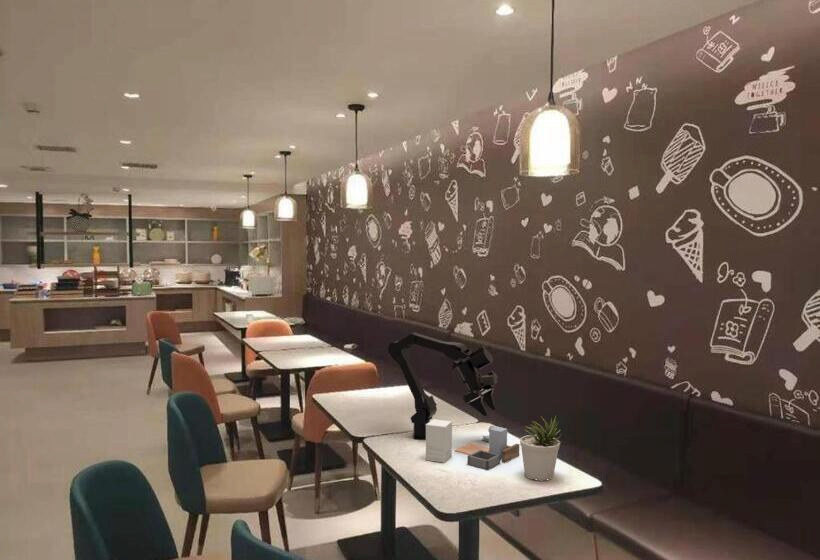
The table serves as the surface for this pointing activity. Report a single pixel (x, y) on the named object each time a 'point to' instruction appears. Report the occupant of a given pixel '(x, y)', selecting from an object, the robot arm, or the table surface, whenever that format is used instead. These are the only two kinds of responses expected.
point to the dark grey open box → (483, 459)
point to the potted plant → (540, 451)
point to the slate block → (497, 440)
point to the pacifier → (486, 438)
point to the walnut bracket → (510, 452)
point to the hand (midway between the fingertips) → (490, 412)
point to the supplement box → (439, 440)
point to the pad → (471, 448)
